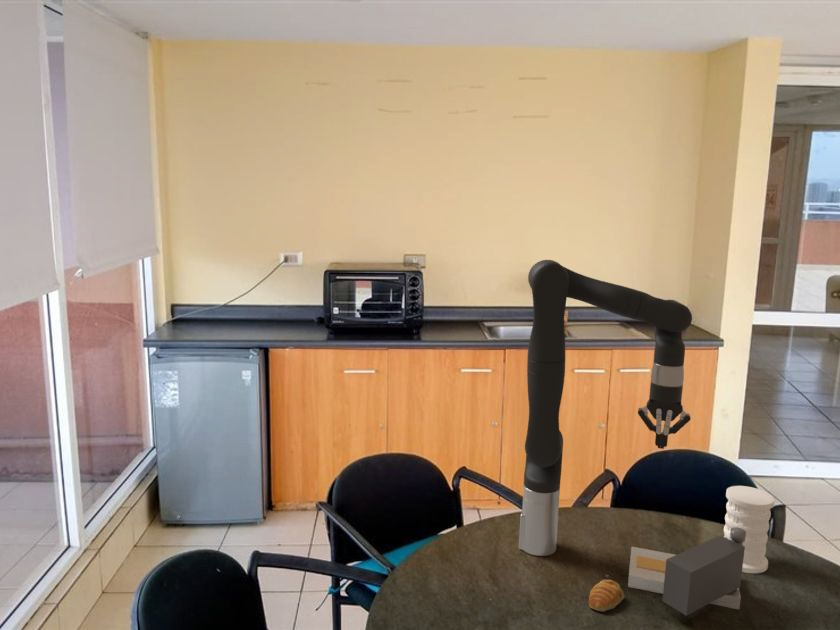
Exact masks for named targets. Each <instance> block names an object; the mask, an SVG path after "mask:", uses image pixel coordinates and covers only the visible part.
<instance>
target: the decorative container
mask: <svg viewBox="0 0 840 630" xmlns="http://www.w3.org/2000/svg"><path fill="white" fill-rule="evenodd" d="M725 497H726V499H727V502H726V504H725V505H726V506H725V508H726V514H724V515H725V516H724V520H725V521H724V522H725V524H724V527H723V535H724V536H723V537H725V538H727V539H729V540H732V539H731V538H730V532H731V528H733V527H737V528H741V529H743V530H745V531H746V537H745V541H744V542H743V546H744V547H745V550H744V559H743V567H742V573H745V574H746V573H747V574H761V573H764V572H766V571H767V570H768V568H769V560H768V559H767V557H766V554H767V546H766V545H767V542H768V541H769V535H768V531H769V529H770V523H769V521H770V519H771V516H772V513H771V512H772V511H771V509H773V507H774V506H775V497H773V495H772V494H770V493H769V492H766V491H765V490H762V489H760V488H755V487H752V486H747V485H746V486H745V485H731V486H729V487H727V488H726V492H725Z"/></svg>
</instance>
